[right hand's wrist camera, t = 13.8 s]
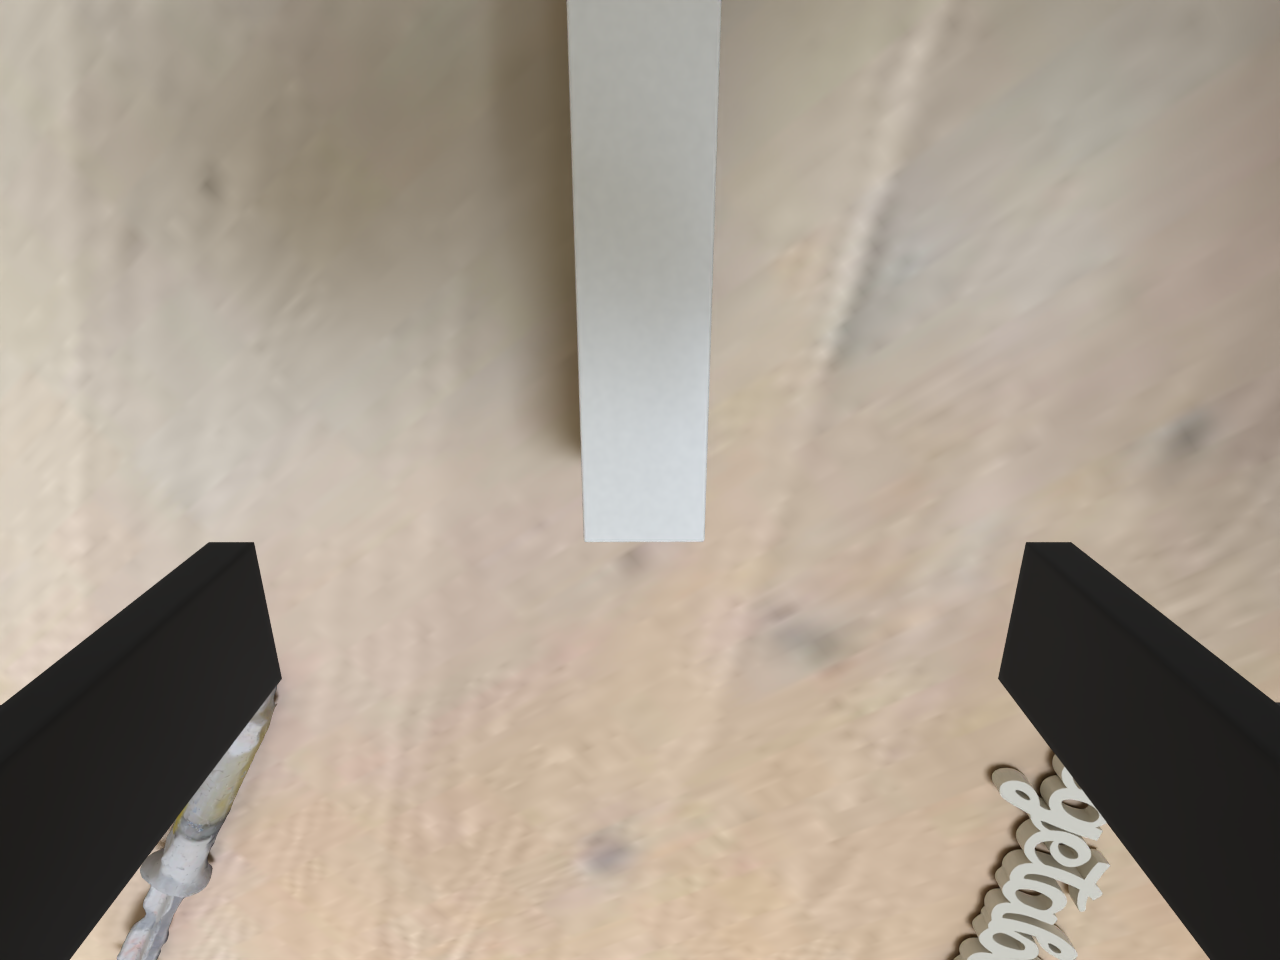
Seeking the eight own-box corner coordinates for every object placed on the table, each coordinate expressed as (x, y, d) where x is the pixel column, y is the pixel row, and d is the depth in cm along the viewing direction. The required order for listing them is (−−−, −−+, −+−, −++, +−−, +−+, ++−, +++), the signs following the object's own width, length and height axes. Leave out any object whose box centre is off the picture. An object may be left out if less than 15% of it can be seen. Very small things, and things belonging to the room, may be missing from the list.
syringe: (250, 658, 39) (222, 690, 36) (316, 690, 39) (293, 723, 37) (108, 942, 46) (76, 985, 44) (165, 965, 47) (137, 1009, 45)
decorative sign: (1056, 668, 38) (1235, 700, 39) (1046, 657, 39) (1221, 688, 40) (894, 1009, 47) (1041, 1030, 48) (889, 994, 48) (1034, 1014, 49)
